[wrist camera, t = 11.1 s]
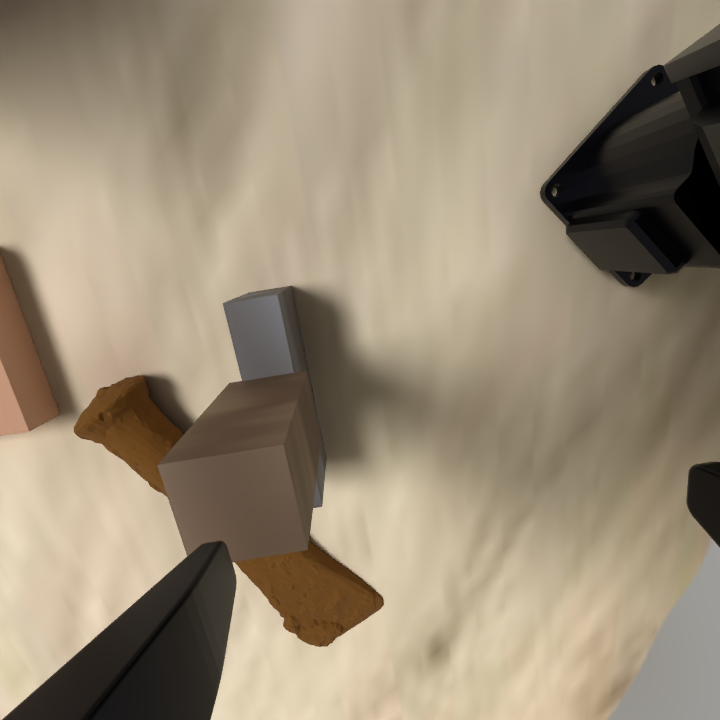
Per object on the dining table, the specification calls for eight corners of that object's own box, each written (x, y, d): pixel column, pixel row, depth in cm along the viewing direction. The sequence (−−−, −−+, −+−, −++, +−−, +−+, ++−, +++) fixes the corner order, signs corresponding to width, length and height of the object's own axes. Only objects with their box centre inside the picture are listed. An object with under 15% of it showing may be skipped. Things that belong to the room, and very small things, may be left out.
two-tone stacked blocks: (302, 284, 18) (254, 319, 8) (335, 457, 20) (328, 640, 11) (238, 294, 18) (116, 341, 8) (279, 466, 20) (221, 657, 11)
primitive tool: (387, 597, 23) (394, 655, 20) (317, 643, 24) (312, 707, 21) (146, 357, 19) (102, 379, 16) (70, 423, 20) (13, 458, 16)
